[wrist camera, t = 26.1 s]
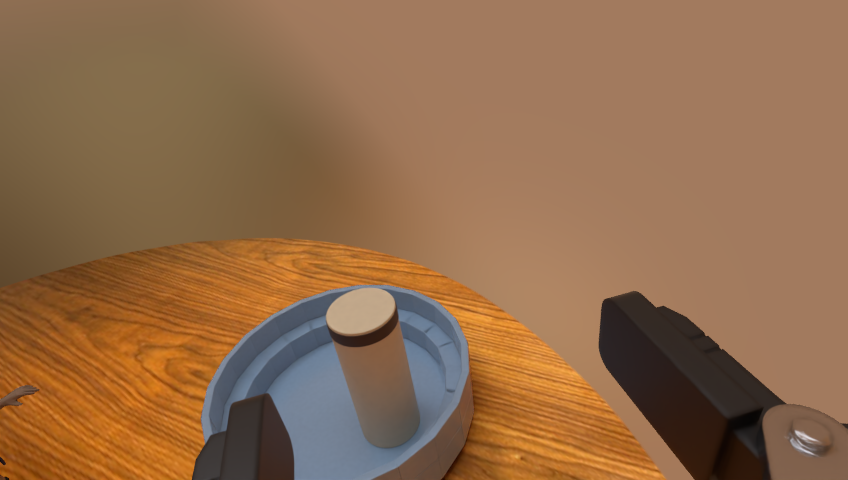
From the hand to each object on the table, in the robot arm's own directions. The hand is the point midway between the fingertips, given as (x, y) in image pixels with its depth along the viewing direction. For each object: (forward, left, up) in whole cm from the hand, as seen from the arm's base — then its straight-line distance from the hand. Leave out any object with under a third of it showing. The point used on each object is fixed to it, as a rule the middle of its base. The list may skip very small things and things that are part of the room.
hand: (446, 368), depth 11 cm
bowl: (+5, -21, -24) cm, 32 cm away
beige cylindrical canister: (+2, -18, -23) cm, 29 cm away
